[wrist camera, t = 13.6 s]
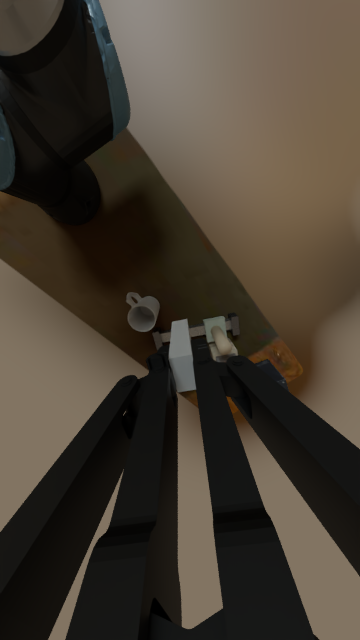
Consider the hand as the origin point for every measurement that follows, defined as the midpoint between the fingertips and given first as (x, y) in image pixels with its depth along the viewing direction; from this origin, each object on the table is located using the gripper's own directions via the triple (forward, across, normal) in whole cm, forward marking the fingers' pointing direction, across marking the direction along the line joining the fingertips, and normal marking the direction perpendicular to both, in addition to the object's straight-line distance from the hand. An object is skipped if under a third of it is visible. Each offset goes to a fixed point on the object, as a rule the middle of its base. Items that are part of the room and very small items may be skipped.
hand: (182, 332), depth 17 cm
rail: (+34, +2, -15) cm, 38 cm away
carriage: (+34, +8, -15) cm, 38 cm away
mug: (+35, -11, -3) cm, 36 cm away
